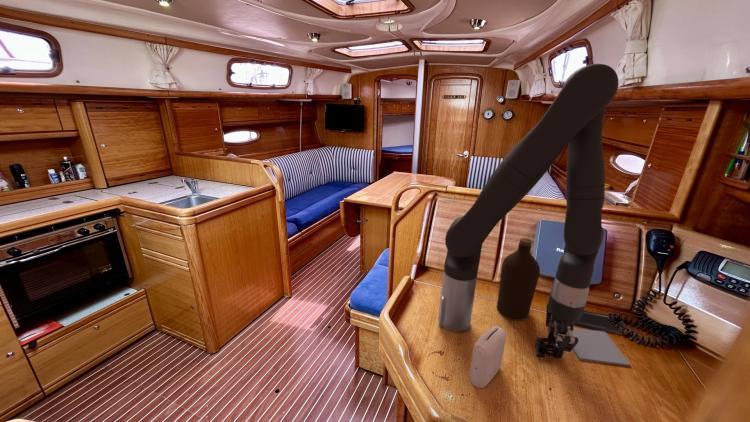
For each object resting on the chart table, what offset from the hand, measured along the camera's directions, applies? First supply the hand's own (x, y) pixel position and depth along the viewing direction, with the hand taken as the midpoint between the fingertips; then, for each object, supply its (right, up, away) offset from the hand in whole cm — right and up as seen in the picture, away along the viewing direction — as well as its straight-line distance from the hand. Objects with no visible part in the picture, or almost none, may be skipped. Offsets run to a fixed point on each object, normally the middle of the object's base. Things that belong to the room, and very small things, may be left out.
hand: (553, 351), depth 80 cm
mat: (+13, 0, +3) cm, 13 cm away
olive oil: (-3, +5, +17) cm, 18 cm away
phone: (+20, +3, +13) cm, 24 cm away
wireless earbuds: (-2, -1, 0) cm, 2 cm away
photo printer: (-20, -3, -6) cm, 22 cm away
